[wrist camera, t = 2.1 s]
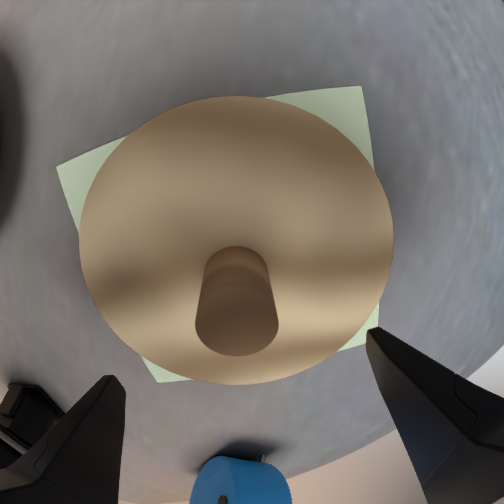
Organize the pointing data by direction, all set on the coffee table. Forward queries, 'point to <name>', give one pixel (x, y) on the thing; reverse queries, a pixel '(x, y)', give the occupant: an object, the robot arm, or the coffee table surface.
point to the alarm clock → (240, 483)
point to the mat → (314, 101)
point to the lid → (236, 240)
